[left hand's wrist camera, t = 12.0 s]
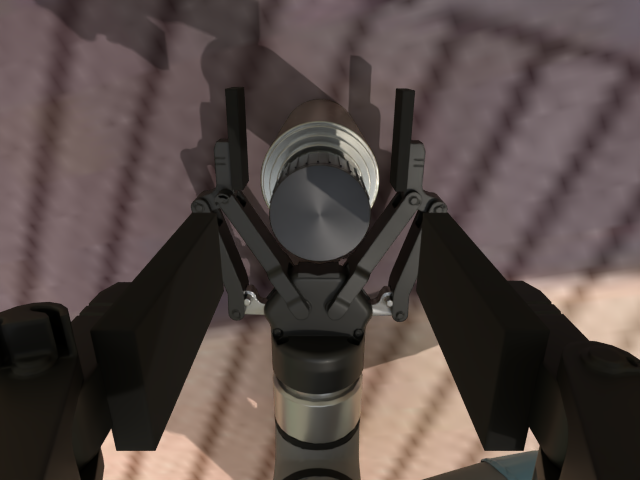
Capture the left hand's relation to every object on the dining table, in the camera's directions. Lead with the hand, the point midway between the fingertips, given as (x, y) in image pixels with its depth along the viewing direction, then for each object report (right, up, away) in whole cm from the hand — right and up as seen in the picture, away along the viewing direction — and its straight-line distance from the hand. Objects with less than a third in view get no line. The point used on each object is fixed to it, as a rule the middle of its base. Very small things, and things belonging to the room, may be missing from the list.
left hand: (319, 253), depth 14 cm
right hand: (0, +10, +15) cm, 18 cm away
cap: (0, +2, +6) cm, 7 cm away
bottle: (0, +9, +23) cm, 24 cm away
